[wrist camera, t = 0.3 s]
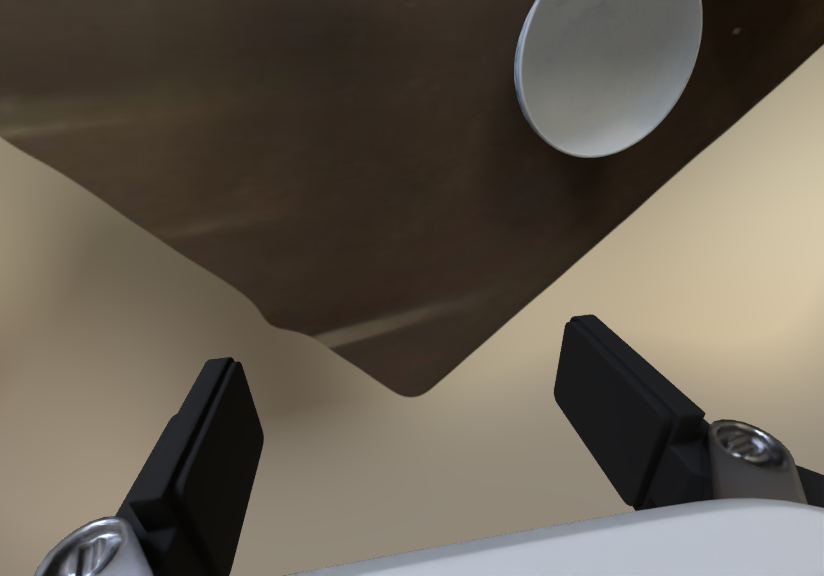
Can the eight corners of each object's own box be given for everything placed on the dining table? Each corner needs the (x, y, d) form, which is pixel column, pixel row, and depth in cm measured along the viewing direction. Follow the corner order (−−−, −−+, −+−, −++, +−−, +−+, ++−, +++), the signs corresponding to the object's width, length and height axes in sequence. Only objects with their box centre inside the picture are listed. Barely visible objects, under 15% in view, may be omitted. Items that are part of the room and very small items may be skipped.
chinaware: (664, 50, 37) (736, 38, 30) (557, 177, 41) (598, 192, 34) (569, -80, 31) (630, -131, 24) (456, 82, 35) (481, 77, 29)
